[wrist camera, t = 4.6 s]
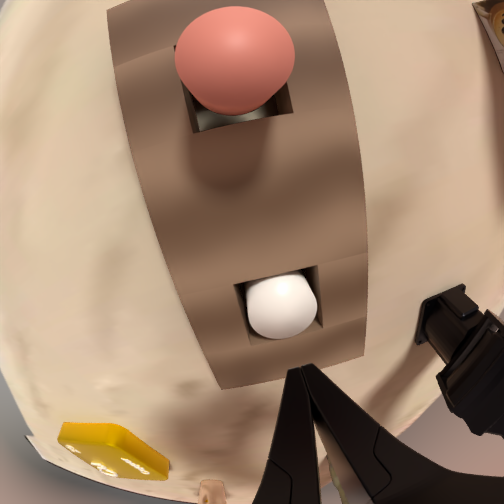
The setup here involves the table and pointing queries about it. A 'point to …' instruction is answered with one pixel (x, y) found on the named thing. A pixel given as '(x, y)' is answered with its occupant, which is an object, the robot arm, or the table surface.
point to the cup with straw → (211, 492)
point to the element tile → (113, 451)
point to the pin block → (250, 188)
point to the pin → (280, 304)
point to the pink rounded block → (234, 59)
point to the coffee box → (493, 23)
